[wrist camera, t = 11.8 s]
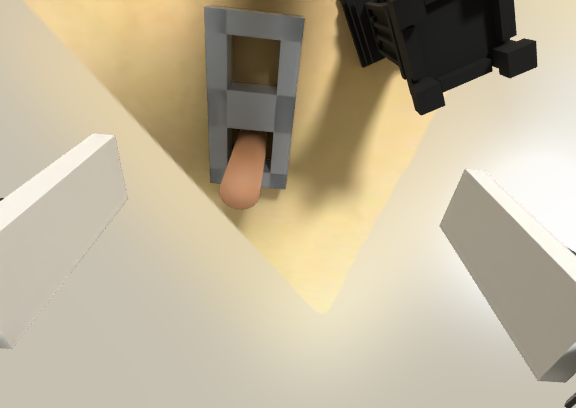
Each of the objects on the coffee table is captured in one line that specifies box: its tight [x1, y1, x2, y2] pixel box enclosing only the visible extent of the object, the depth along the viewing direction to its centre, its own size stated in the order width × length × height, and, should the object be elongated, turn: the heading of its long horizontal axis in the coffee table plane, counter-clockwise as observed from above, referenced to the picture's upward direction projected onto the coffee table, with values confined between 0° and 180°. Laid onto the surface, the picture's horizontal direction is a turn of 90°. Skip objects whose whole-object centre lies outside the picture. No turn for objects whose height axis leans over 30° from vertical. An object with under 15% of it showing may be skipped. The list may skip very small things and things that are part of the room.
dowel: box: [219, 129, 268, 210], centre depth 38 cm, size 4×4×14 cm
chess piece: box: [340, 0, 537, 115], centre depth 28 cm, size 8×8×20 cm
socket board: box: [204, 6, 305, 189], centre depth 40 cm, size 20×10×4 cm, turn 174°
